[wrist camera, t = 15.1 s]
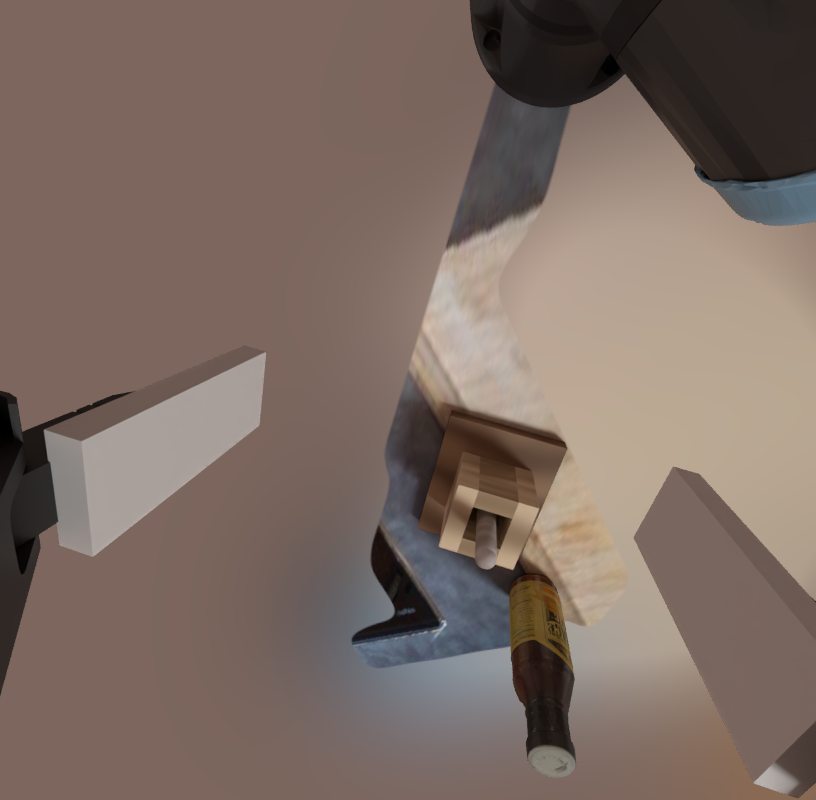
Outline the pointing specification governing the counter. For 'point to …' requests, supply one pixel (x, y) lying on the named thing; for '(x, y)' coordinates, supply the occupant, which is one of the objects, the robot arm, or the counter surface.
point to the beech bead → (490, 507)
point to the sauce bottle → (542, 672)
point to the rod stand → (496, 446)
